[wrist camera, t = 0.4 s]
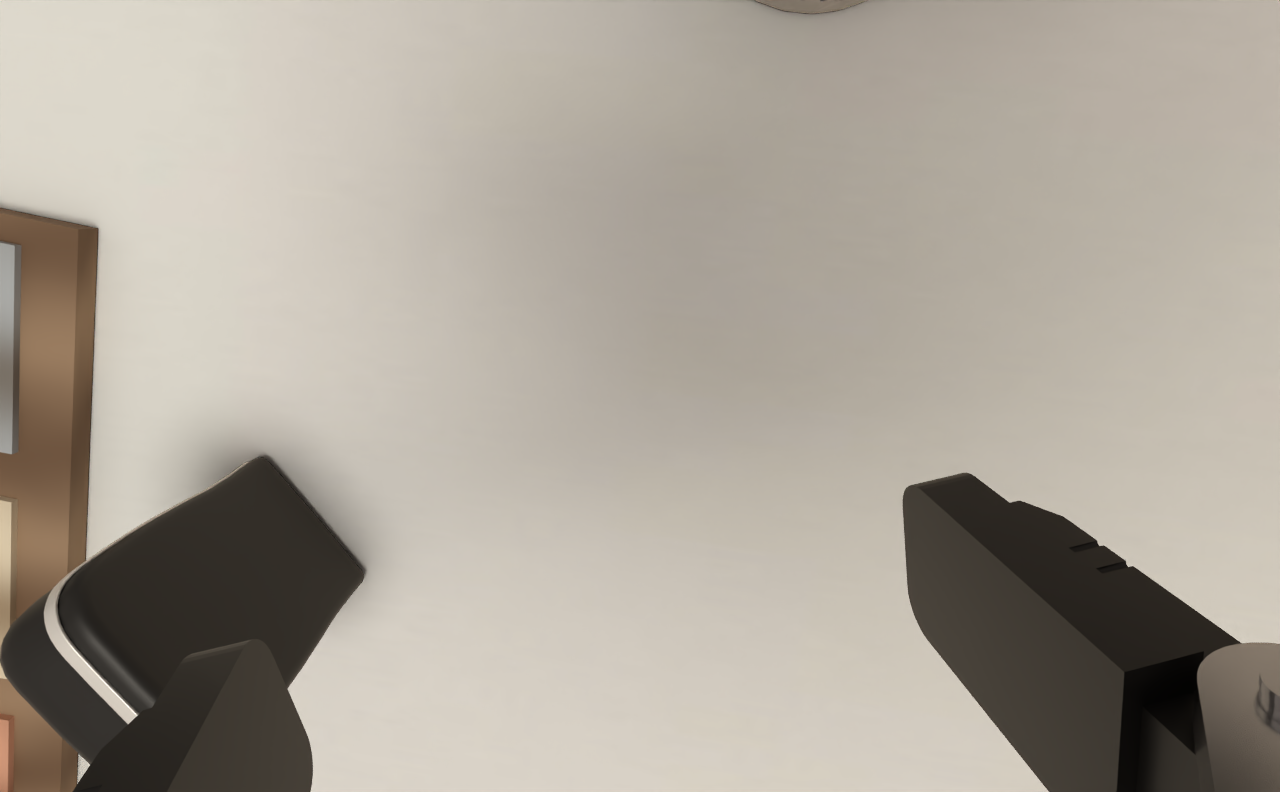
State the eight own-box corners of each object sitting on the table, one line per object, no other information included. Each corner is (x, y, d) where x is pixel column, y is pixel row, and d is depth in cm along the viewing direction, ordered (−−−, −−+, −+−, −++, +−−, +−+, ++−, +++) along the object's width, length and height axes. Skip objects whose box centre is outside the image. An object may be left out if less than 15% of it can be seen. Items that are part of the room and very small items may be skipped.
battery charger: (192, 497, 31) (-63, 660, 20) (263, 446, 30) (42, 584, 19) (305, 624, 32) (127, 844, 21) (374, 577, 31) (229, 777, 20)
